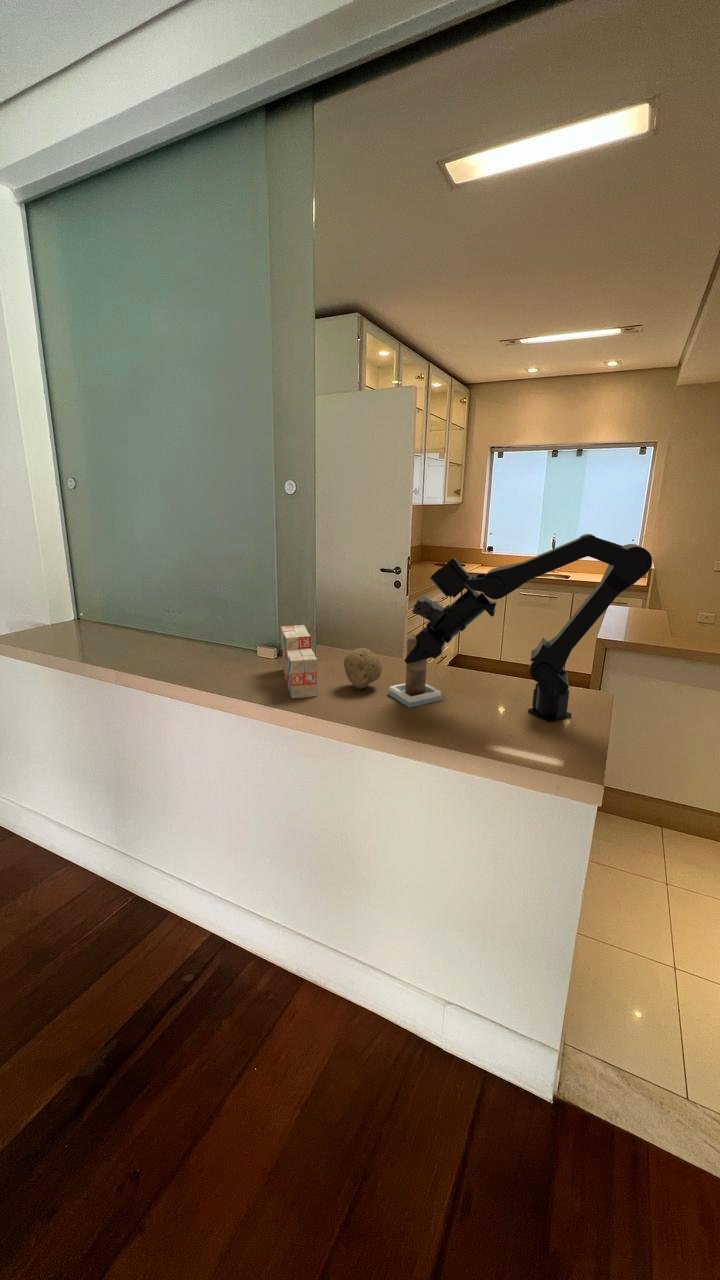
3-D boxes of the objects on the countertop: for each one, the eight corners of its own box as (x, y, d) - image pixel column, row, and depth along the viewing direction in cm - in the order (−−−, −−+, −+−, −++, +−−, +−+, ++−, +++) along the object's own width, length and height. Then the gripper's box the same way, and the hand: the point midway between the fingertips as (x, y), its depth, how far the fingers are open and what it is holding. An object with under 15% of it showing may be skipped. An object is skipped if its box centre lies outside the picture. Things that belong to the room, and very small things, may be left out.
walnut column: (429, 692, 119) (432, 638, 115) (417, 698, 116) (420, 643, 112) (412, 687, 122) (415, 634, 118) (401, 693, 119) (403, 639, 115)
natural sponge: (375, 680, 130) (375, 642, 127) (386, 692, 122) (387, 652, 119) (340, 683, 128) (340, 644, 125) (349, 696, 120) (349, 655, 117)
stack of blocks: (318, 697, 120) (316, 646, 116) (291, 699, 118) (289, 648, 115) (305, 668, 140) (304, 623, 136) (282, 669, 138) (280, 625, 135)
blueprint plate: (442, 699, 118) (442, 691, 117) (409, 707, 113) (409, 699, 113) (419, 687, 125) (419, 679, 125) (387, 694, 121) (387, 686, 120)
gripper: (443, 579, 119) (396, 621, 126) (427, 593, 102) (373, 641, 109) (476, 614, 119) (427, 655, 125) (464, 634, 102) (409, 680, 108)
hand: (409, 657), depth 117 cm, fingers open, 7 cm apart
